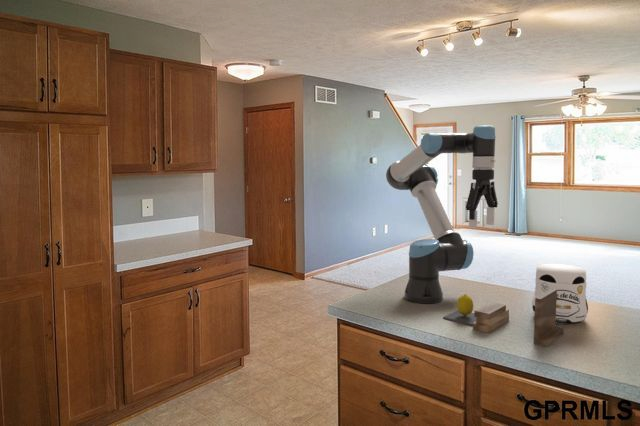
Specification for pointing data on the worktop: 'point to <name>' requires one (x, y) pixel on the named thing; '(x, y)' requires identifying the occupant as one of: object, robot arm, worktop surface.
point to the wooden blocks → (543, 320)
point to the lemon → (465, 305)
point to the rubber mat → (461, 318)
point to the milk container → (564, 290)
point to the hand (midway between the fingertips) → (481, 226)
